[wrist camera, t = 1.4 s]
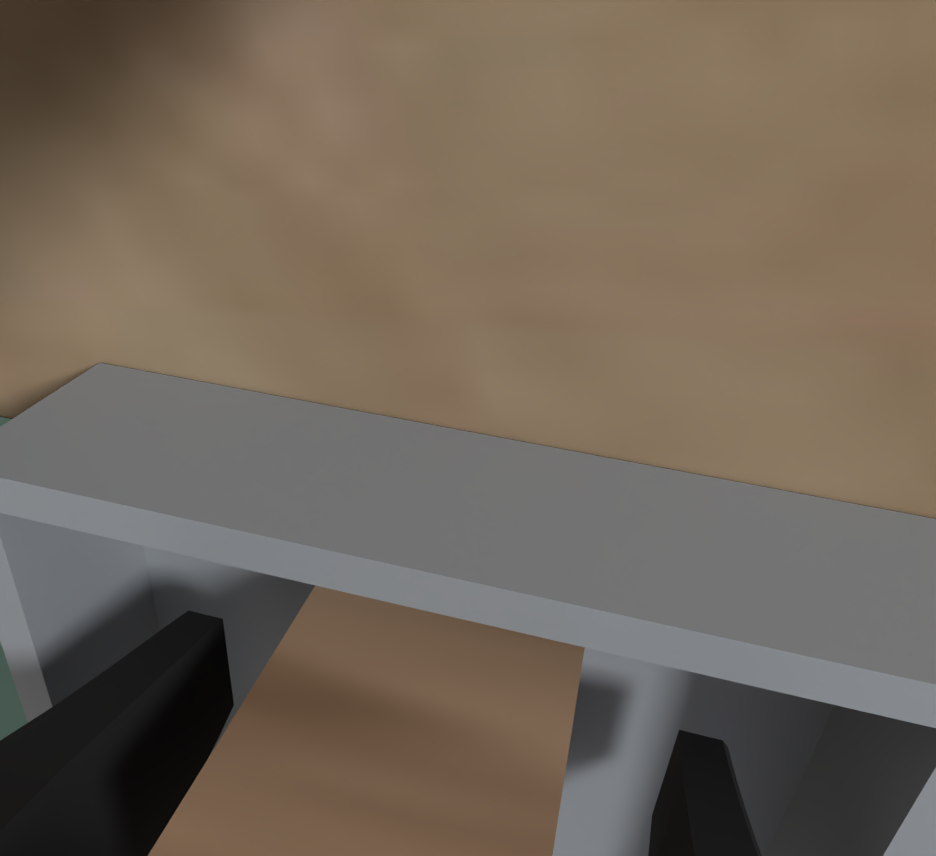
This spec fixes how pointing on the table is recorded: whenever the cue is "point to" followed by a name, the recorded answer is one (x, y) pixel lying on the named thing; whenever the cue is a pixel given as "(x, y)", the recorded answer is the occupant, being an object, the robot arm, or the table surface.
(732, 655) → the tray
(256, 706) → the walnut block
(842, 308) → the table surface
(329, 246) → the table surface
